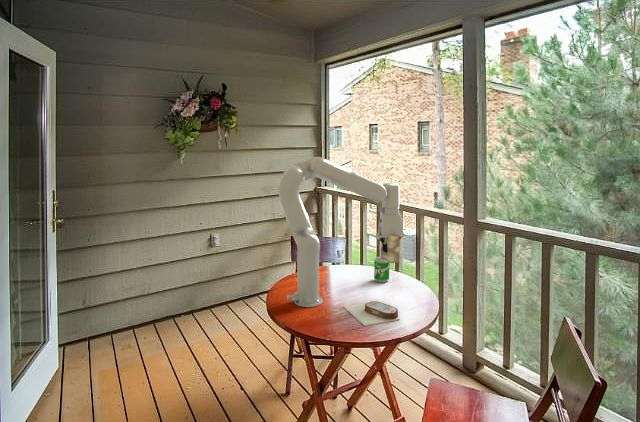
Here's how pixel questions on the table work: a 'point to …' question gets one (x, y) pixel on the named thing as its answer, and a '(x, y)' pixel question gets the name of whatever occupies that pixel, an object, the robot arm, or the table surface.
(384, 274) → the soda can
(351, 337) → the table surface
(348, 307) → the mat
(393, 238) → the beige box
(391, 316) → the tin
